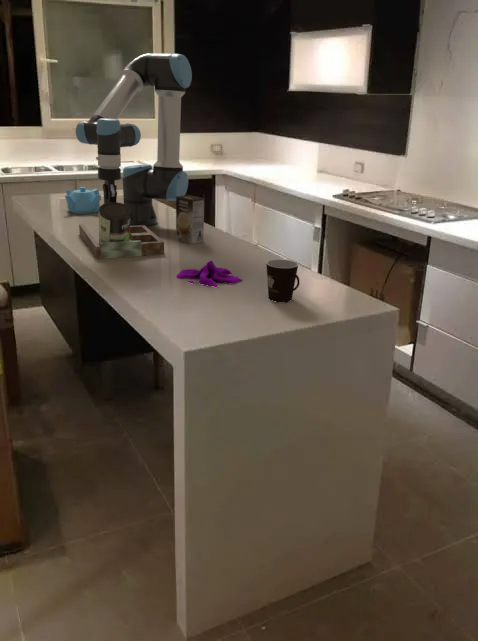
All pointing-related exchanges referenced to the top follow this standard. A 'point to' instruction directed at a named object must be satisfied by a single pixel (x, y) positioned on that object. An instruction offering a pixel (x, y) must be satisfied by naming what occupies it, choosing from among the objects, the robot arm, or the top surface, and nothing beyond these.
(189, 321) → the top surface
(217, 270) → the cloth
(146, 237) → the wooden compartment tray
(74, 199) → the teapot
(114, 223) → the coffee can
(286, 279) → the coffee mug
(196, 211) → the coffee box
